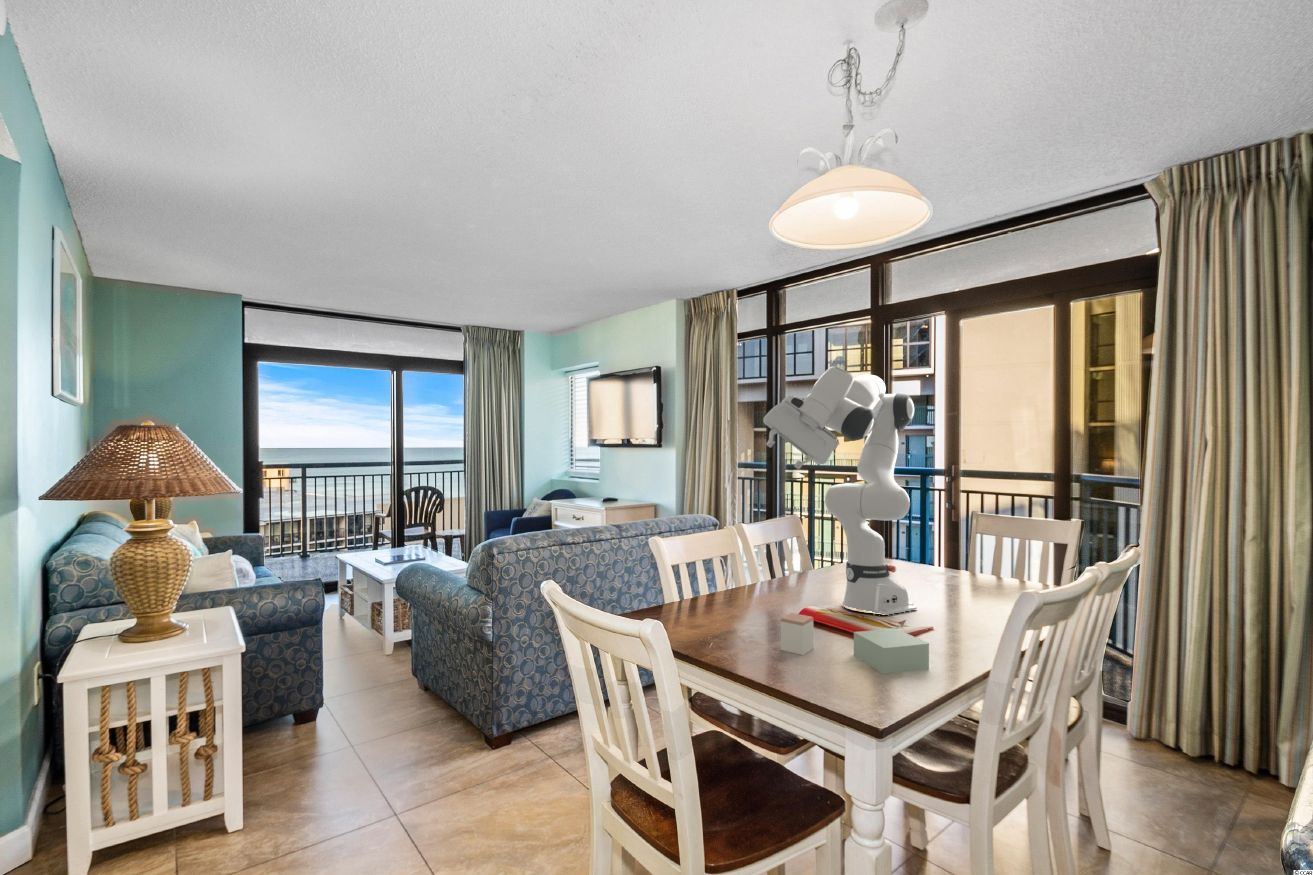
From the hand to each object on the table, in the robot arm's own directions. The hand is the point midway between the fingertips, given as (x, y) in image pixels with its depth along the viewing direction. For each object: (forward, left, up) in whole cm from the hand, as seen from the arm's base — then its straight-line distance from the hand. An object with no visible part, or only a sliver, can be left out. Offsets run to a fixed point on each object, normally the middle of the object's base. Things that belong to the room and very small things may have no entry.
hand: (782, 456), depth 166 cm
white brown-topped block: (+1, +9, -48) cm, 49 cm away
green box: (-16, +23, -49) cm, 56 cm away
